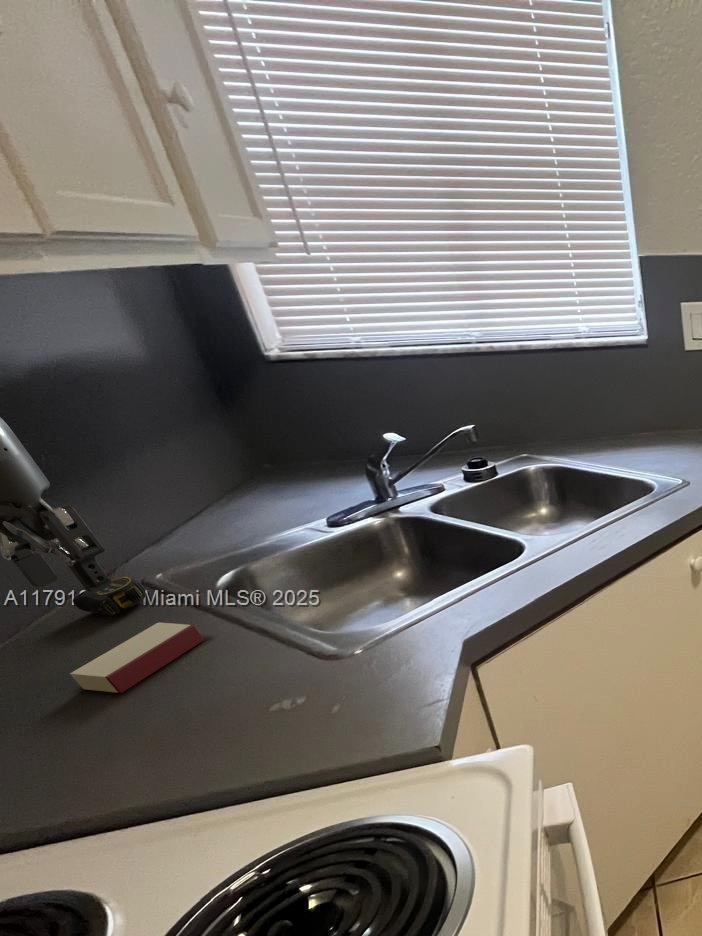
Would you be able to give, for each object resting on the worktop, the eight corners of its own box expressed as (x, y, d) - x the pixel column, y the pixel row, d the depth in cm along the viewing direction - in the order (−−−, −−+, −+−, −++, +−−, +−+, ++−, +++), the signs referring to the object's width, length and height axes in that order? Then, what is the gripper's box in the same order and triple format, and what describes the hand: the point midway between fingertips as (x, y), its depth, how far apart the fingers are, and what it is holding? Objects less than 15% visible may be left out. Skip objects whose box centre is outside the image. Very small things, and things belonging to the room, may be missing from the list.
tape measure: (81, 616, 94) (64, 595, 92) (134, 592, 100) (119, 572, 98) (109, 623, 92) (91, 602, 90) (161, 598, 97) (146, 578, 95)
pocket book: (169, 637, 88) (158, 622, 87) (204, 640, 87) (193, 624, 86) (83, 689, 79) (69, 673, 78) (121, 693, 78) (107, 677, 77)
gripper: (65, 446, 69) (152, 574, 77) (-31, 442, 71) (65, 566, 80) (-23, 471, 62) (83, 607, 71) (-124, 466, 65) (-9, 598, 74)
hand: (73, 585), depth 76 cm, fingers open, 8 cm apart
